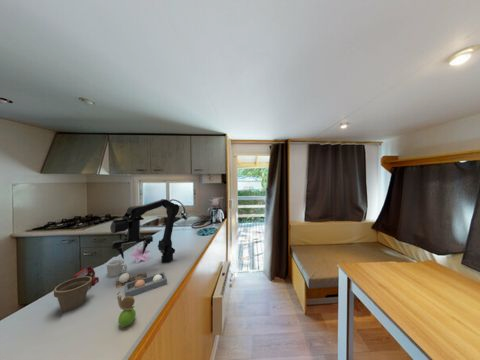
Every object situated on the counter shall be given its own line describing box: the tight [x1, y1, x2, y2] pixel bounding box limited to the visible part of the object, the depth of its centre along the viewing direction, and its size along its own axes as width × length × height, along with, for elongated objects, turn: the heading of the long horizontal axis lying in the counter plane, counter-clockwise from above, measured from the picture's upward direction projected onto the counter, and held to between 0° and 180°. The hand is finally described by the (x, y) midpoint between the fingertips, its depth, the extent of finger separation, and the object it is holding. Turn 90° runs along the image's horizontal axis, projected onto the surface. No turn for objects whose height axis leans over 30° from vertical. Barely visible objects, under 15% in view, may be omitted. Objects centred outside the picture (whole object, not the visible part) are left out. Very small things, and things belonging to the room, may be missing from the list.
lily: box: [128, 245, 152, 264], centre depth 111 cm, size 12×12×10 cm
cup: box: [106, 258, 128, 278], centre depth 93 cm, size 11×8×8 cm
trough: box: [124, 272, 168, 298], centre depth 81 cm, size 18×8×4 cm, turn 127°
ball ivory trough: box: [152, 273, 163, 283], centre depth 84 cm, size 4×4×4 cm
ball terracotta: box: [133, 280, 146, 289], centre depth 80 cm, size 4×4×4 cm
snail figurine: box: [116, 291, 137, 327], centre depth 61 cm, size 5×6×12 cm
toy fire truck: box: [72, 265, 99, 291], centre depth 81 cm, size 7×12×10 cm, turn 9°
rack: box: [115, 272, 148, 289], centre depth 87 cm, size 14×7×2 cm, turn 127°
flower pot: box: [53, 276, 92, 313], centre depth 69 cm, size 12×11×10 cm
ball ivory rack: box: [118, 272, 130, 283], centre depth 85 cm, size 4×4×4 cm
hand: (133, 256), depth 91 cm, fingers open, 9 cm apart
